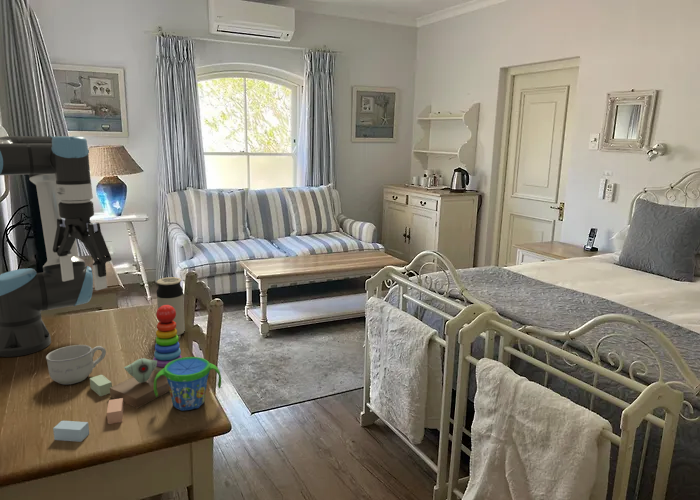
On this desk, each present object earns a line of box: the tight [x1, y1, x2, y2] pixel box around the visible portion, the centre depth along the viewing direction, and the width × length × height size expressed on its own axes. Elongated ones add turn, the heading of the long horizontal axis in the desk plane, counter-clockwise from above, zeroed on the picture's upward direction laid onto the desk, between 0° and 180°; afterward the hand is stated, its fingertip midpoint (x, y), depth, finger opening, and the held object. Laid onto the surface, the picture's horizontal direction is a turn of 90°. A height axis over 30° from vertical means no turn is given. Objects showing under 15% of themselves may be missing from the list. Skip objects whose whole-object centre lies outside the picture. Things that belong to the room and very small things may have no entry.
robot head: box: [123, 357, 157, 383], centre depth 129 cm, size 8×4×7 cm, turn 123°
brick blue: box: [52, 420, 90, 443], centre depth 110 cm, size 6×3×3 cm, turn 86°
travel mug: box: [156, 276, 186, 337], centre depth 166 cm, size 8×8×18 cm
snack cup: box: [154, 356, 222, 412], centre depth 124 cm, size 16×10×10 cm
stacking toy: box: [152, 305, 183, 372], centre depth 140 cm, size 8×8×19 cm
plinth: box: [109, 370, 170, 409], centre depth 130 cm, size 10×12×2 cm
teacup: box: [45, 344, 107, 385], centre depth 136 cm, size 14×11×8 cm
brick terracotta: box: [106, 398, 125, 425], centre depth 119 cm, size 6×3×3 cm, turn 20°
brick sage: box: [89, 374, 113, 397], centre depth 130 cm, size 6×3×3 cm, turn 48°
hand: (84, 284), depth 129 cm, fingers open, 13 cm apart
